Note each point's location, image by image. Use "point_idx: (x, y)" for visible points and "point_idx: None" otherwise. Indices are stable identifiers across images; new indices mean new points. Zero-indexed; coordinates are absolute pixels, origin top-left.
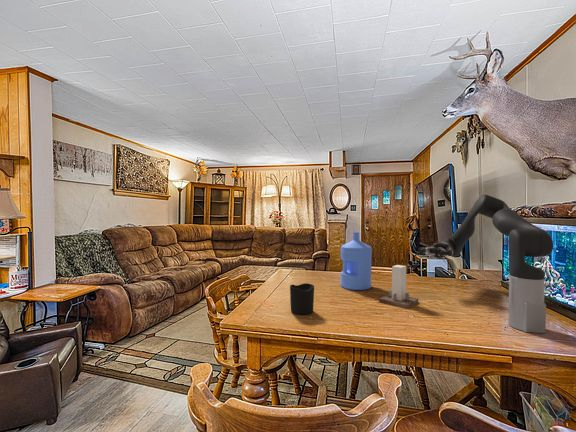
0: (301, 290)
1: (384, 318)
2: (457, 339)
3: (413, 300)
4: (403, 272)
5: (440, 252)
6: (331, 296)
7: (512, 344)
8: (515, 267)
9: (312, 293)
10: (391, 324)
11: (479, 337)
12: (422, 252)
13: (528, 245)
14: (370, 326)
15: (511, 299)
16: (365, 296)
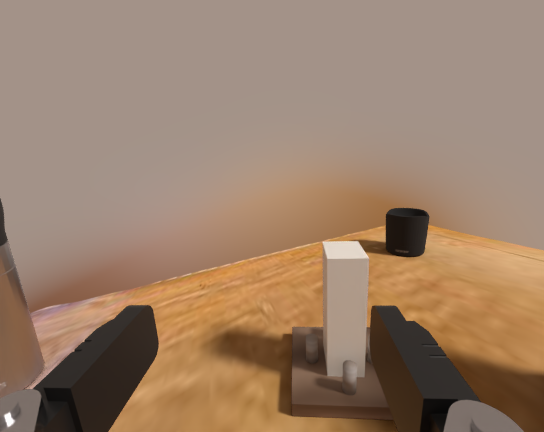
0: (389, 210)
1: (300, 281)
2: (188, 281)
3: (295, 369)
4: (324, 269)
5: (145, 311)
6: (487, 305)
7: (108, 300)
8: (3, 212)
9: (388, 222)
10: (280, 273)
11: (152, 297)
12: (379, 358)
13: None
14: (299, 261)
15: (25, 302)
16: (454, 355)
